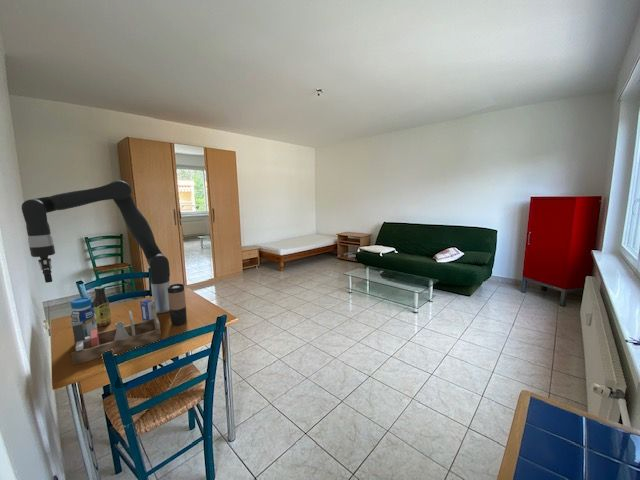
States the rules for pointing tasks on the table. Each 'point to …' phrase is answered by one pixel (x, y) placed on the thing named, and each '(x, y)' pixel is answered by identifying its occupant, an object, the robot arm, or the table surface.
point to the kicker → (81, 338)
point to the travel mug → (177, 304)
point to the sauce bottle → (101, 307)
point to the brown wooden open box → (122, 343)
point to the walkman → (147, 309)
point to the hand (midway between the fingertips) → (48, 280)
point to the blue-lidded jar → (84, 314)
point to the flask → (120, 331)
